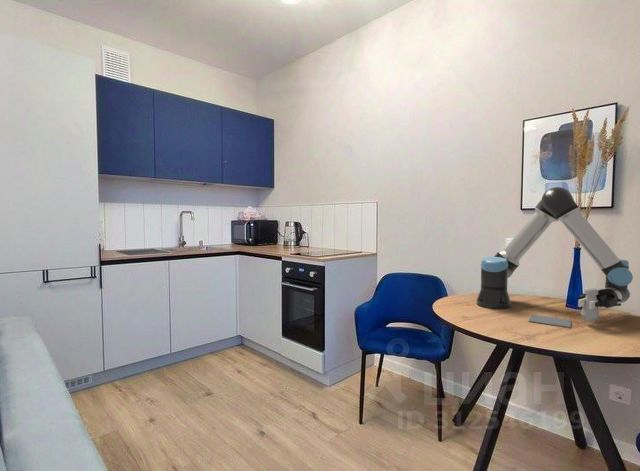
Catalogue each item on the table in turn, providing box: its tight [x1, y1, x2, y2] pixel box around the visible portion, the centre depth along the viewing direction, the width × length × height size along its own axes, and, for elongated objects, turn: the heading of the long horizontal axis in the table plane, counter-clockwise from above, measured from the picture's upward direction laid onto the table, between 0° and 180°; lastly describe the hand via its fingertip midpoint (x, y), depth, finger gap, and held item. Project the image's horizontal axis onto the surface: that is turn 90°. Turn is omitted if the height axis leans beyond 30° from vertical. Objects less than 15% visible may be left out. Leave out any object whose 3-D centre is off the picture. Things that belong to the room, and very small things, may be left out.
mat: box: [528, 314, 572, 329], centre depth 142 cm, size 14×12×1 cm
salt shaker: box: [580, 287, 600, 323], centre depth 137 cm, size 6×6×13 cm
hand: (584, 304), depth 134 cm, fingers closed on salt shaker, 3 cm apart
